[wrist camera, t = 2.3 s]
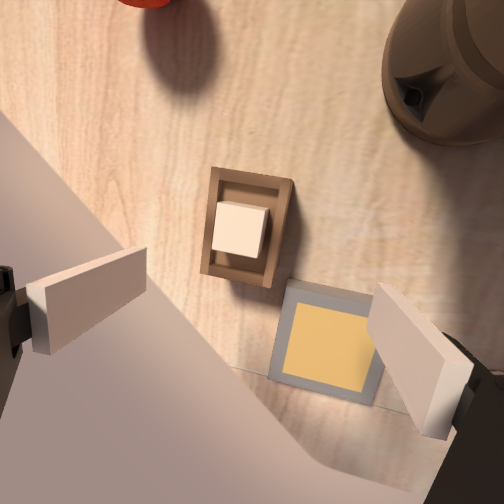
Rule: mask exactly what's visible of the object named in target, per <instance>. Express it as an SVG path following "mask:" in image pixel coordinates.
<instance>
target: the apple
mask: <svg viewBox="0 0 504 504" xmlns="http://www.w3.org/2000/svg"><path fill="white" fill-rule="evenodd" d="M118 1H120V2H122V3H124V4H125V5H129V6H133V7H138V8H150V9H155V8H159V7H162V6H164V5H166V4H168V3H169V2H170V0H118Z"/></svg>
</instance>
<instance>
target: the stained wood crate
mask: <svg viewBox="0 0 504 504" xmlns="http://www.w3.org/2000/svg"><path fill="white" fill-rule="evenodd" d="M292 186H293V180H292V179H288V178H281V177H275V176H269V175H263V174H256V173H250V172H244V171H237V170H231V169H225V168H218V167H212V168H211V177H210V186H209V195H208V204H207V213H206V222H205V231H204V240H203V249H202V258H201V267H200V273H201V274H206V275H210V276H215V277H220V278H224V279H229V280H233V281H238V282H243V283H247V284H252V285H257V286H261V287H266V288H271V285H272V282H273V279H274V275H275V272H276V269H277V264H278V259H279V254H280V249H281V243H282V238H283V233H284V228H285V223H286V217H287V212H288V207H289V202H290V196H291V191H292ZM223 201H231V202H237V203H242V204H248V205H254V206H259V207H265V208H269V213H268V219H267V224H266V230H265V236H264V242H263V247H262V251H261V253H260V254H259V256H258V257H257V258H253V257H248V256H243V255H238V254H233V253H229V252H224V251H219V250H214V249H212V242H213V234H214V226H215V217H216V209H217V202H223Z"/></svg>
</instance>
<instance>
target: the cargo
mask: <svg viewBox="0 0 504 504" xmlns="http://www.w3.org/2000/svg"><path fill="white" fill-rule="evenodd" d="M268 213H269V208H265V207H259V206H254V205H248V204H242V203H237V202H231V201H223V202H217V209H216V217H215V226H214V234H213V242H212V249H214V250H219V251H224V252H229V253H233V254H238V255H243V256H248V257H253V258H257V257H258V256H259V254H260V253H261V251H262V247H263V242H264V236H265V230H266V224H267V219H268Z"/></svg>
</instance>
